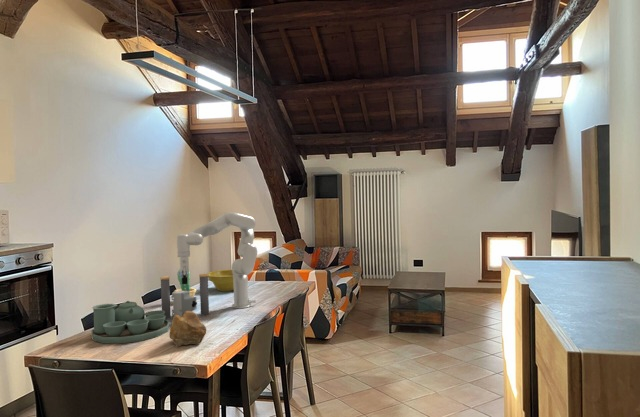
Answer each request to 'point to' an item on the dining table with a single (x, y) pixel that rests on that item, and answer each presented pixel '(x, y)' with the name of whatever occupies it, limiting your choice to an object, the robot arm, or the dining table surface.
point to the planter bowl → (222, 280)
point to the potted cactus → (185, 286)
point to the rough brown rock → (187, 329)
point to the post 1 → (165, 296)
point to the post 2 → (204, 294)
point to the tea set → (126, 323)
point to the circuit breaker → (183, 303)
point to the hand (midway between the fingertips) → (184, 283)
